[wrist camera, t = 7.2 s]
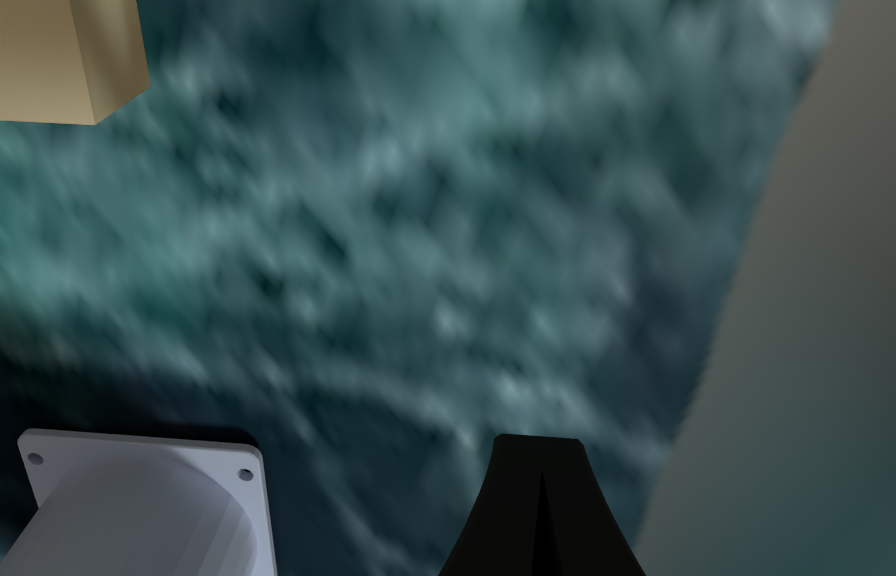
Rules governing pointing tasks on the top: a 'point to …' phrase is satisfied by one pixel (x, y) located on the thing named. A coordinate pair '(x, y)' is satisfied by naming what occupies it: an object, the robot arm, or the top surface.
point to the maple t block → (69, 59)
